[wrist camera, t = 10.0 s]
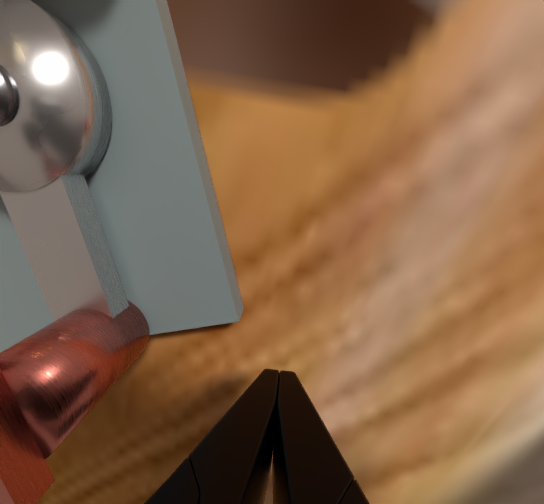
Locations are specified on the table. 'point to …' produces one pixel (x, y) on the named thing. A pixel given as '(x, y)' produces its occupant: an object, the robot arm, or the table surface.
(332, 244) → the table surface
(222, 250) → the board
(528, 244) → the table surface
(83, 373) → the crank
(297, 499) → the robot arm
